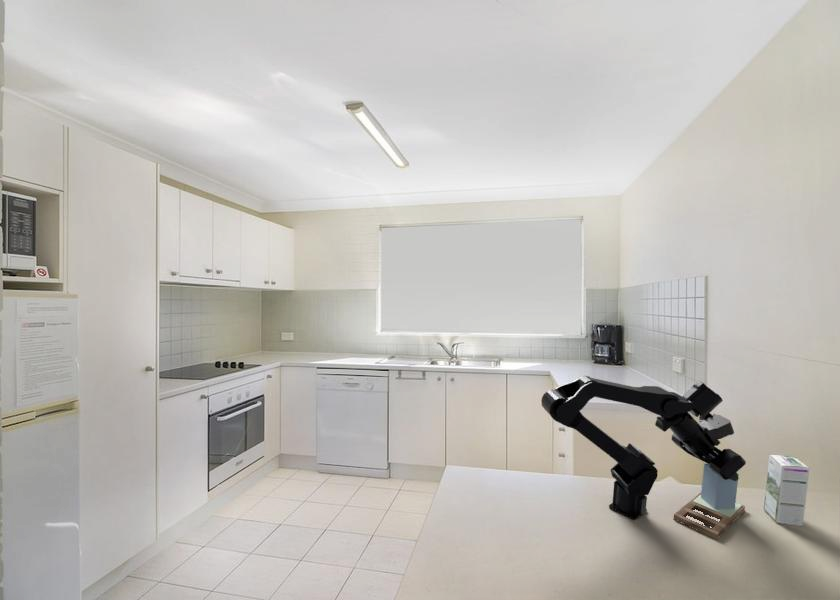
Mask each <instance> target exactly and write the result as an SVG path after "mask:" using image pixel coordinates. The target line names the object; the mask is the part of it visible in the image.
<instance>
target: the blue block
mask: <svg viewBox="0 0 840 600" xmlns="http://www.w3.org/2000/svg"><path fill="white" fill-rule="evenodd" d="M709 466H710V464H708V463H704V464H703V474H702V481H701V490H700V491H701V492H700V493H701V498H702V499H703V500H704V501H706V502H707V503H708V504H709V505H710V506H711V507H713V508H714V509H735V502H736V499H737V493H738V483H739V479H738V480H737V481H733V480H731V479H727V480H724V479H723V478H722V477H720V476H719V475H717V474H716V473H715V472H713V471H712V469H711V468H710V467H709ZM737 475H738V477H739V473H738V472H737ZM736 503H737V502H736Z"/></svg>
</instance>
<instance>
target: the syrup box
mask: <svg viewBox="0 0 840 600" xmlns="http://www.w3.org/2000/svg"><path fill="white" fill-rule="evenodd" d="M768 456H769V458H768V464H767V474H766V475H767V476H766V485H765V494H764V505H763V510H764V511H765V512H766V513H767V514H768V516H769V517H770V518H771V519H772V520H773V521H774V522H775V523H778V524H781V525H788V526H789V525H790V526H799V527H803V526H804V519H805V511H806V510H805V509H806V503H807V502H806V501H807V494H808V493H807V492H808V486H809V478H810V477H809V476H810V467H809V466H807V465H806V464H805V463H803V462H802V461H800V460H799V459H798V458H797V457H795V456H791V455H783V454H769V455H768Z"/></svg>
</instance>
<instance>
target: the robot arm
mask: <svg viewBox="0 0 840 600" xmlns="http://www.w3.org/2000/svg"><path fill="white" fill-rule="evenodd" d="M593 398H599V399H602V400H608V401H613V402H617V403H622V404H626V405H632V406H635V407H636V406H637V407H640V408H643V409H644V410H647V411H649V412H650V413H653V414H655V415H658V416H656V421H655V424H654V425H655V427H656V428H658V429H659V430H661V431H662V432H667V431H668V430H669V429H670V430H671V432H672V433H673V434H671V441H672V442H673V444H675V446H677V447H679V448H680V449H682V450H683V451H684V452H685V453H686V454H688V455H690V456H692V457H694V458H697V460H700V461H702V462H704V463H705V464H710V466H709V467H710V468H711V469H712V471H713V472H715V473H716V474H717V475H719V476H720V477H722V478H723V479H724V480H727V479H731V480H733V481H737V480H738V481H739V480H740V479H739V476H738V475H737V473H738V472H739V471H740V470H741V469H742V468H743V467H744V466H745V465H746V460H745V459H744V458H743V457H742V455H740V454H738V453H737V452H736V451H733V450H732V449H731V448H724V449H722V450H721V449H719V448H718V446H719V445H721V441H720V440H721V439H724V438H726V437H728V436H732V435H734V434H735V431H734V427H733V425H732V422H731V420H730V419H728V418H726V417H724V416H722V415H720V414H716V413H711V412H713V410H714V409H716V408H717V407H718V406H719V405H720V404H721V403H723V398H722V397H721V396H720V395H719V394H718V393H716V392H715V391H714V390H712V389H711V388H710V387H709V386H707V385H706V384H705V382H702V381H700V380H696V382H695V383H694V384H693V385H692V386H691V387H690V388H689V389H688V390H687V391H686V392H685V393H683V394H682V395H680V394H679V393H677V392H673V391H669V390H666V389H664V388H662V387H660V386H656V385H644V386H643V385H642V386H633V385H632V386H631V385H626V384H621V383H618V382H612V381H607V380H603V379H599V378H594V377H591V376H589V375H582V376H579V377H578V378H577V379H575V380H572V381H569V382H566V383H563V384H561V385H559V386H558V387H556V388H554V389H549V390H547V391H545V392H544V394H543V395H542V397H541V406H542V408H543V409H544V411H546V412H547V414H548V415H549V416H550V417H551V419H552V420H554V421H555V422H557V423H558V424H561V425H563V426H565V427H567V428H570V429H572V430H574V431H577V432H578V433H579V434H580V435H582V436H584V438H586V439H587V440H588V441H590V442H591V443H592V444H594V445H595V446H596V447H597V448H598V449H600V450H601V451H603V452H604V453H605V454H606V455H608V456H609V457H611V459H613V460H614V461H615V462H616V463H615V464H614V466H613V467H612V468H610V473H611V477H612V478H613V479H614V480H615V481H614V482H613V491H612V492H613V494H612V503H610V504H609V505H608V508H609V509H611V510H613V511H614V512H617V513H619V514H621V515H623V516H625V517H627V518H629V519H631V520H633V521H634V520H637V519H638V518H640V517H642V515H644V514H645V513H646V512H647V511H648V509H647V501H648V498H647V496H648V495H649V494H650V492H651V490H652V488H653V486H654V483H655V482H656V480H657V479H658V473H659V471H658V469H657V467H656V466H655V465H656V463H655V462H654V461H653V460H652V459H651V458H650V457H649V456H647V455H646V454H645V453H643V452H642V450H640V449H638V448H637V447H636V446H634V445H633V444H632V443H631V442H629V443H628V444H627V446H625V445H622V444H620V443H619V442H618V441H617V440H615V439H614V438H613V437H611V435H609V434H608V433H606V432H605V431H604V430H602V429H601V428H600V427H598V425H596V424H595V423H594V422H592V421H591V420H590V419H588V418H587V417H586V416H584V415H583V414H582V412H581V411H582V409H584V408H585V407H586V405H587V404H588V403H589V402H590V401H591V400H593ZM692 415H693V416H694V417H697V418H699V422H698V421H697V420H696V419H695V418H694V417H693V416H692Z"/></svg>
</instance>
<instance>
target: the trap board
mask: <svg viewBox="0 0 840 600" xmlns="http://www.w3.org/2000/svg"><path fill="white" fill-rule="evenodd" d="M745 508H746V506H745V505H743V504H741V503H738V502H735V509H714V508H713V507H711V506H710V505H709V504H708V503H707V502H706V501H704V500H703V499H702V498H701V492H699V493H698V494H696V496H694V497H693V498H692V499H691V500H690V501H688V502H687V503H686V504H685V505H684V506H682V507H681V508H680V509H679V510H678V511H677V512H676V513H674V514H673V520H674V519H676V520H678V521H680V522H682V523H681V524H683V523H684V524H683V525H685V524H686V525H685V526H687V525H688V526H687V527H689V526H691V527H693V528H695V529H697V530H696V531H698V530H699V531H698V532H700V531H701V532H700V533H702V532H703V533H702V534H704V533H705V534H704V535H706V534H707V535H706V536H708V535H709V537H710V536H711V538H713V539H715V540H718V539H717V538H718V537H719V536H720V535H721V534H722V535H723V534H724V533H725V532H726V530H728V529H729V527H731V525H732V524H733V523H734V522H735V521H736V520H737V519H738V518H739V517H740V516H741V515H742V514H743V513H744V512H745V510H746V509H745ZM695 509H696V510H698V511H701V512H703V514H704V515H702V514H700V513H698V512H695V511H693V510H695ZM743 511H744V512H743ZM742 512H743V513H742ZM741 513H742V514H741ZM740 514H741V515H740ZM687 515H688V516H690V517H693V518H694V519H697V520H699V521H701V522H703V523H704V525H705V526H703V524H702V525H701V524H699V523H697V522H694V521H692V520H690V519H688V518H686V516H687ZM705 515H709V516H710V517H711V516H712V517H715V518H717V519H720V521H719V522H718V521H716V520H714V519H711V518H709V517H707V516H705ZM739 515H740V516H739ZM738 516H739V517H738ZM737 517H738V518H737ZM736 518H737V519H736ZM735 519H736V520H735ZM676 520H675V521H676ZM734 520H735V521H734ZM678 521H677V522H678ZM733 521H734V522H733ZM680 522H679V523H680ZM710 526H711V527H712V528H710ZM691 527H690V528H691ZM693 528H692V529H693ZM695 529H694V530H695ZM722 535H721V536H722ZM721 536H720V537H721ZM720 537H719V538H720Z"/></svg>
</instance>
